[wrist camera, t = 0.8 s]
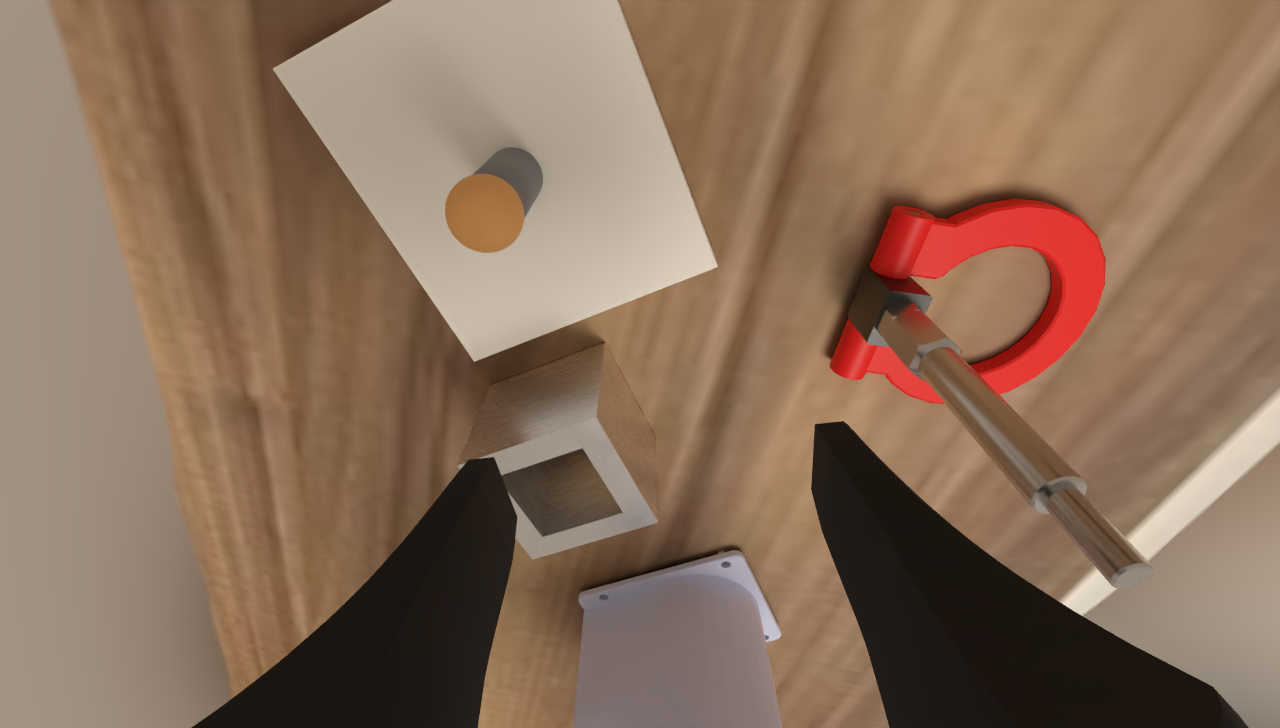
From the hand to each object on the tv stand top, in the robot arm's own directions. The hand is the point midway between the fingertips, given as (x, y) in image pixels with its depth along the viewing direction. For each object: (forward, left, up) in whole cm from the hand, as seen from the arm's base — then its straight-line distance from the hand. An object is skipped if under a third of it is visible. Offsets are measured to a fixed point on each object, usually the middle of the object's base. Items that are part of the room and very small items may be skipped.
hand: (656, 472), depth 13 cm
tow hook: (+11, -5, -11) cm, 16 cm away
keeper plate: (-2, +6, -10) cm, 12 cm away
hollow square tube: (-5, -4, -10) cm, 12 cm away
